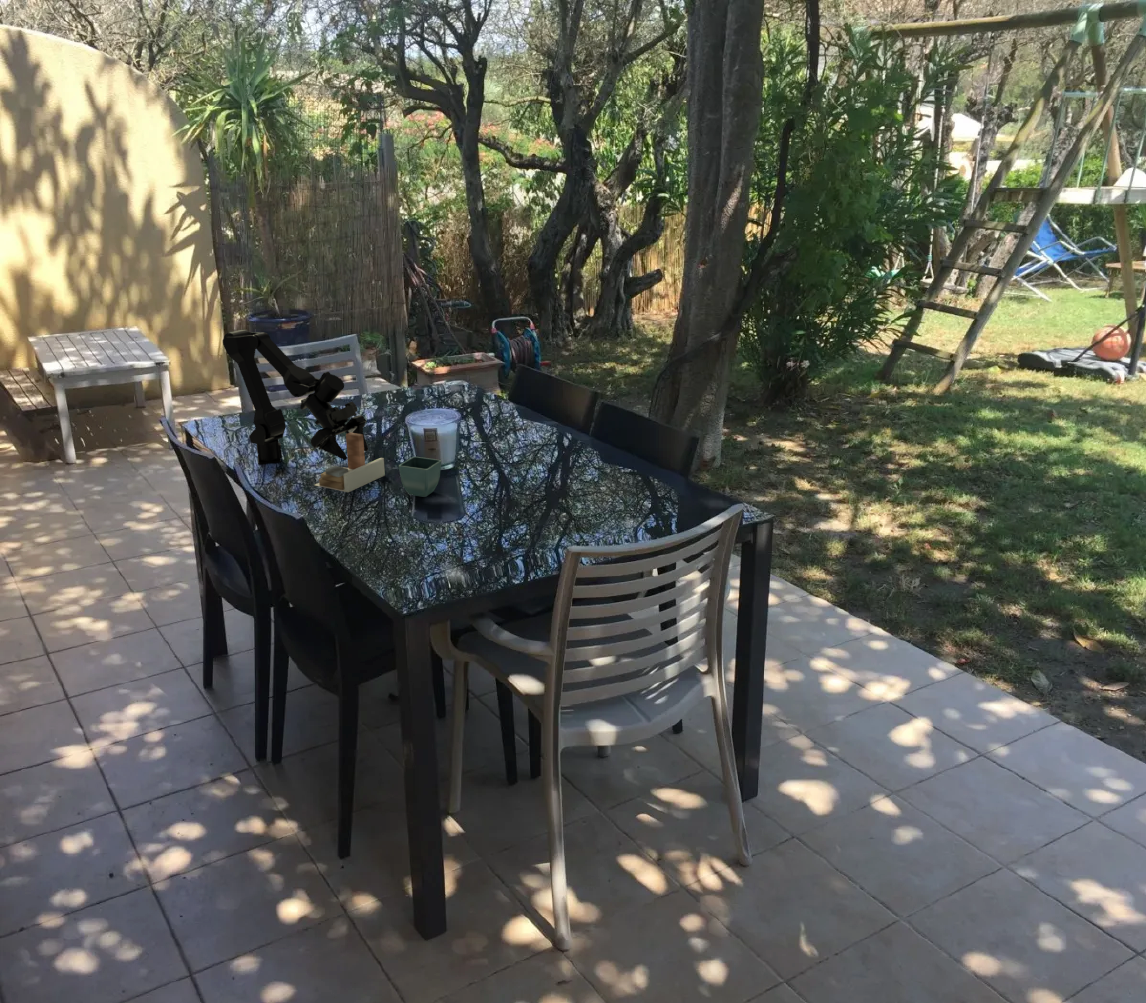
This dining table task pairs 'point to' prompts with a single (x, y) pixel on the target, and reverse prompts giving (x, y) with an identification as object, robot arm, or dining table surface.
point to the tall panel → (355, 450)
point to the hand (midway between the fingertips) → (356, 454)
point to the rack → (362, 475)
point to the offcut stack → (333, 477)
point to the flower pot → (420, 475)
